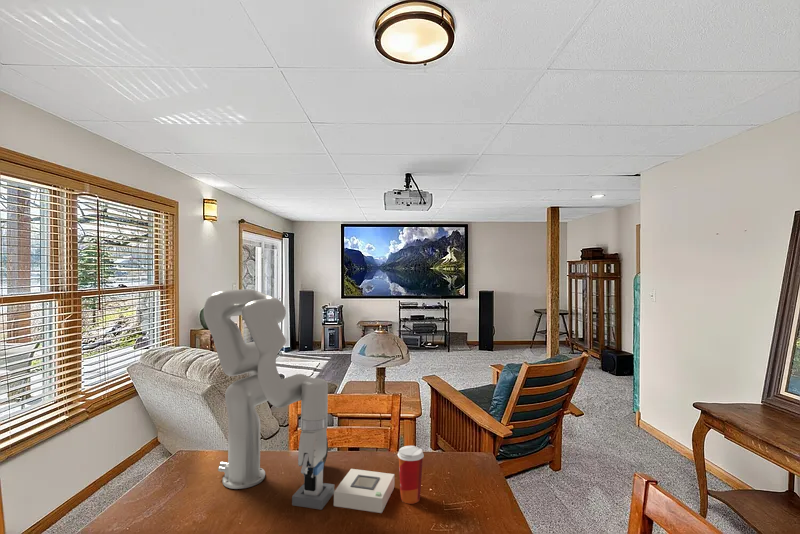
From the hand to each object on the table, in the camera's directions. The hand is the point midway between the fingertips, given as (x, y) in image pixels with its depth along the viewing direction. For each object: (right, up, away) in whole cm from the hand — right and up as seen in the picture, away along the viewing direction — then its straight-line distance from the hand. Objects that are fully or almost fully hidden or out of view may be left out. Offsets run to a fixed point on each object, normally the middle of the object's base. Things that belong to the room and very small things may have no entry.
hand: (313, 485), depth 122 cm
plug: (0, -4, 0) cm, 4 cm away
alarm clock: (-3, -4, +17) cm, 18 cm away
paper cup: (+28, -4, 0) cm, 28 cm away
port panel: (+15, -4, +2) cm, 16 cm away
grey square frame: (0, -4, 0) cm, 4 cm away
